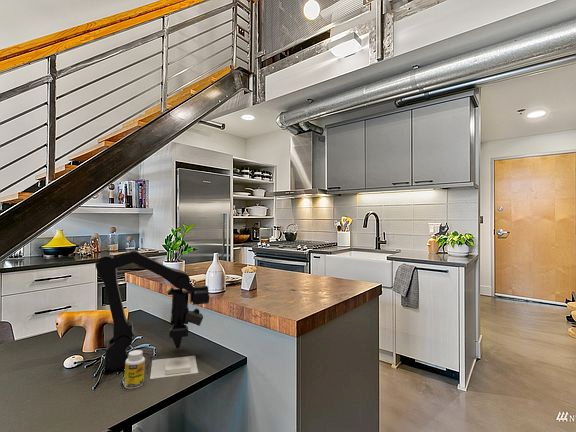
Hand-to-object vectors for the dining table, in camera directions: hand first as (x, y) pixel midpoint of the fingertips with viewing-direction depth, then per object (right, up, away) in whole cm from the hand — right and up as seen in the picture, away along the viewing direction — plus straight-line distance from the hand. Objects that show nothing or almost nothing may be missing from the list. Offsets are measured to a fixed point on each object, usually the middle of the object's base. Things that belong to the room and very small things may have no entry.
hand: (177, 347), depth 116 cm
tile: (+1, -3, -3) cm, 5 cm away
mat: (+1, -5, -6) cm, 7 cm away
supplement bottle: (-7, -4, -18) cm, 20 cm away
